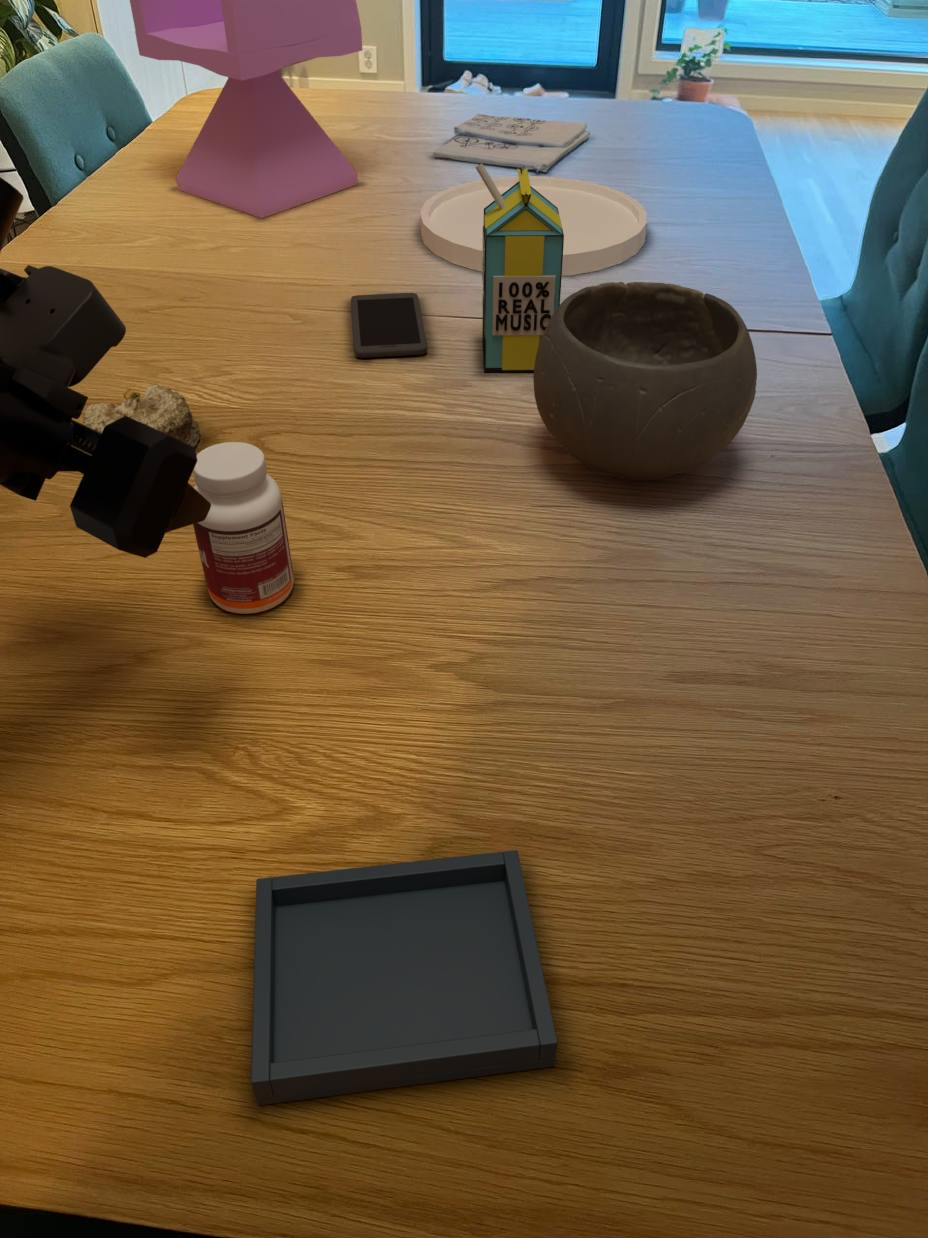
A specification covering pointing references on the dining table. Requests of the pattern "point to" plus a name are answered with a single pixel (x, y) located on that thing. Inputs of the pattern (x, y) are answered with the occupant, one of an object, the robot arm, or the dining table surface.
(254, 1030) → the dish
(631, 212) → the plate
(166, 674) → the dining table surface
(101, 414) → the cake
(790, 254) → the dining table surface
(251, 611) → the pill bottle
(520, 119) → the folded cloth napkin
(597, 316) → the bowl
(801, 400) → the dining table surface
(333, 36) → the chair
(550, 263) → the carton
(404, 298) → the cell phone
